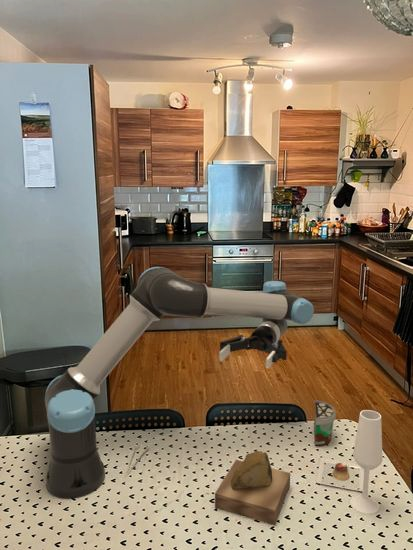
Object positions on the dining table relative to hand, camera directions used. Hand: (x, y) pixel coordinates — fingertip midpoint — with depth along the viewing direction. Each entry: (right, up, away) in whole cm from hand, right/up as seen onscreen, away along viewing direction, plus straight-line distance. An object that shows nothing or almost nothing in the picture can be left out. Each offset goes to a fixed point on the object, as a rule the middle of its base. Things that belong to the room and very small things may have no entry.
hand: (243, 360), depth 127 cm
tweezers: (-31, -31, +4) cm, 44 cm away
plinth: (+2, -33, -10) cm, 34 cm away
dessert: (+26, -32, -2) cm, 41 cm away
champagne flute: (+29, -33, -13) cm, 46 cm away
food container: (+26, -27, +15) cm, 41 cm away
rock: (+1, -29, -11) cm, 31 cm away
